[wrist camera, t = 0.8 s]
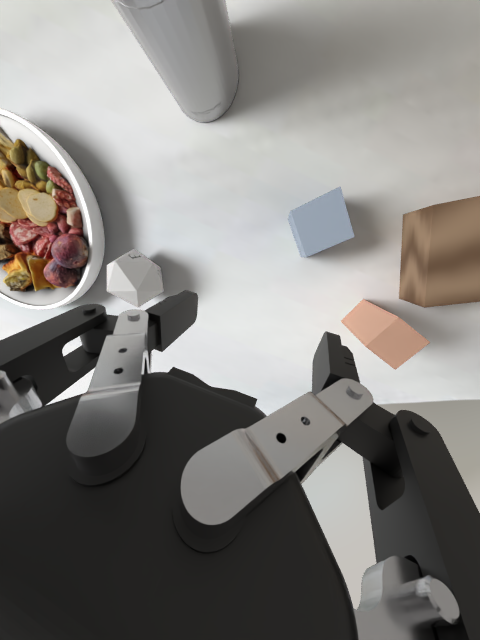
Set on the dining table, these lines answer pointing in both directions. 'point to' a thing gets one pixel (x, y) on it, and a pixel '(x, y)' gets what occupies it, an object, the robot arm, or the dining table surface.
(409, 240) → the walnut block
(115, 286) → the die
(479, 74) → the dining table surface
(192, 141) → the dining table surface
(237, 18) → the dining table surface
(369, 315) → the pillar block
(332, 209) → the slate cube
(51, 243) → the bowl
